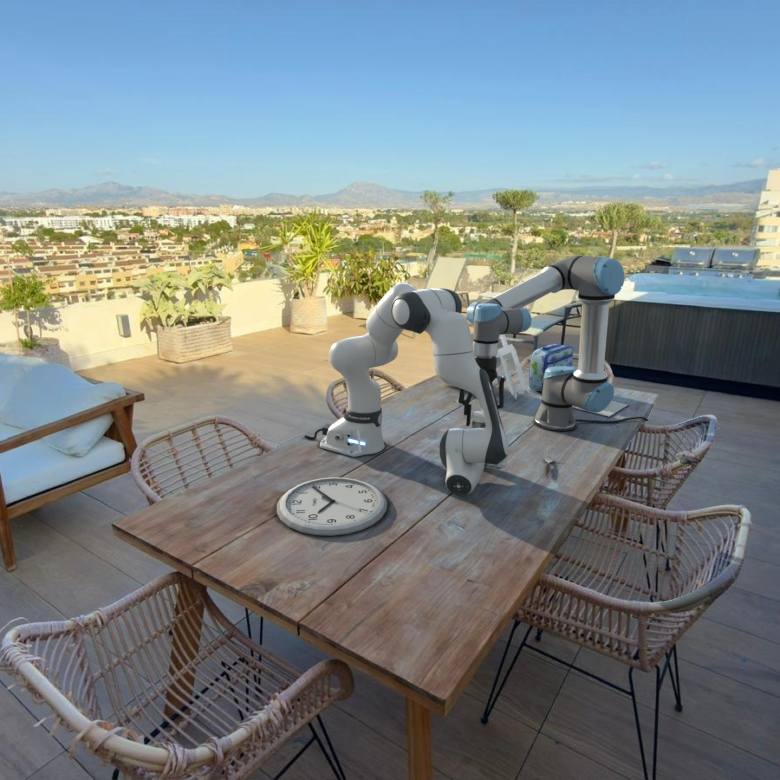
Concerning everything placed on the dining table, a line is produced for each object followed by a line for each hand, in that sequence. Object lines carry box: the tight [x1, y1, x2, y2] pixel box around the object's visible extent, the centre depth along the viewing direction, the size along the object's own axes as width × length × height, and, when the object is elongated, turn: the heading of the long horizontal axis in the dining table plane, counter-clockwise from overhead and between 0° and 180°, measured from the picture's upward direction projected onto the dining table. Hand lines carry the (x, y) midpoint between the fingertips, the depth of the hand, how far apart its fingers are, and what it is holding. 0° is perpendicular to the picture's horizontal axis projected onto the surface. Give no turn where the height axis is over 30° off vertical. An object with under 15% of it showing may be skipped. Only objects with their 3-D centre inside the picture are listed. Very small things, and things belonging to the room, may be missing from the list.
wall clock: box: [276, 476, 388, 537], centre depth 142 cm, size 30×2×30 cm
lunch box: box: [528, 343, 574, 392], centre depth 248 cm, size 26×11×21 cm, turn 134°
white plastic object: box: [441, 334, 531, 400], centre depth 245 cm, size 37×45×31 cm
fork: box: [544, 451, 555, 476], centre depth 168 cm, size 3×16×2 cm, turn 160°
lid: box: [471, 410, 484, 423], centre depth 164 cm, size 5×5×2 cm
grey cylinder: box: [471, 419, 486, 428], centre depth 166 cm, size 5×5×17 cm
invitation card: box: [573, 400, 629, 418], centre depth 226 cm, size 21×1×15 cm
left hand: (478, 445), depth 168 cm, fingers closed on grey cylinder, 5 cm apart
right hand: (479, 426), depth 165 cm, fingers open, 6 cm apart
